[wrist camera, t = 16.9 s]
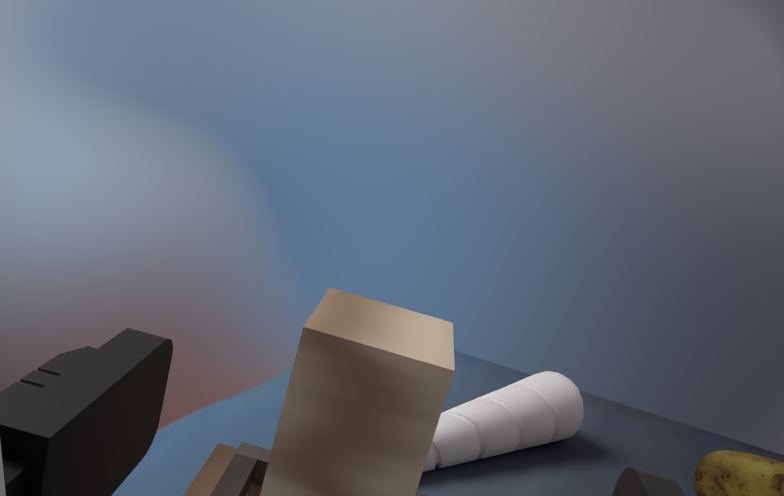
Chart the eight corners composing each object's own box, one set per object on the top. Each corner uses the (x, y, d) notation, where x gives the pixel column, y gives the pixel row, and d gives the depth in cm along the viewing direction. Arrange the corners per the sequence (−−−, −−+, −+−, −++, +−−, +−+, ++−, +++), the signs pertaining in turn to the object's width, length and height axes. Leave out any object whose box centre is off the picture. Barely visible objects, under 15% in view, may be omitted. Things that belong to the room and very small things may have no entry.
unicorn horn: (245, 458, 35) (266, 377, 34) (525, 416, 50) (545, 359, 49) (288, 515, 31) (313, 426, 30) (574, 451, 47) (597, 391, 46)
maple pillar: (385, 539, 28) (452, 322, 26) (372, 629, 23) (454, 370, 21) (272, 506, 28) (330, 287, 26) (235, 588, 23) (303, 326, 21)
